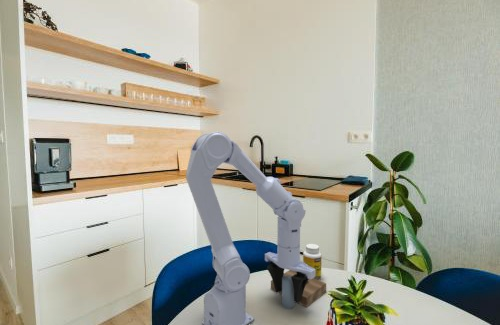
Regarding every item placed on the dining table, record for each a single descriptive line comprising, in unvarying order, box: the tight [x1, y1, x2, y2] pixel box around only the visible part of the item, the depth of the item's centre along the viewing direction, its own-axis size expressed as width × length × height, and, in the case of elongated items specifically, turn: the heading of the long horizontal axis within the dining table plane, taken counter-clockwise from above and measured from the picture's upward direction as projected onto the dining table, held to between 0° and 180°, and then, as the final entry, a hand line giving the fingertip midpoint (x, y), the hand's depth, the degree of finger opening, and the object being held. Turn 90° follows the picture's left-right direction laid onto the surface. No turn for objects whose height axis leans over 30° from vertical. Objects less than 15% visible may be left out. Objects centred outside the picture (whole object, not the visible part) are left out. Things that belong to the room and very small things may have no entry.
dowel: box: [281, 276, 295, 310], centre depth 66 cm, size 3×3×7 cm
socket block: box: [270, 270, 327, 308], centre depth 73 cm, size 10×12×2 cm
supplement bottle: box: [302, 243, 323, 281], centre depth 80 cm, size 6×6×10 cm
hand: (288, 295), depth 66 cm, fingers open, 5 cm apart
